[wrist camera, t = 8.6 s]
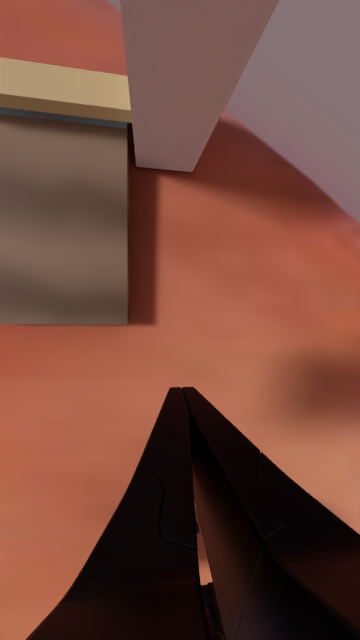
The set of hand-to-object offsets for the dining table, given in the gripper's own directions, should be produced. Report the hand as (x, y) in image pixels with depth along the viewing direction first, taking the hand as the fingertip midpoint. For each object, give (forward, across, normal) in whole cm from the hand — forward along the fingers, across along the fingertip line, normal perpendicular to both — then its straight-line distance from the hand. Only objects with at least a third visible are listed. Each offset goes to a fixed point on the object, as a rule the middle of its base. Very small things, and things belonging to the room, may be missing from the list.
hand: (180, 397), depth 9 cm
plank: (+13, +8, -6) cm, 16 cm away
